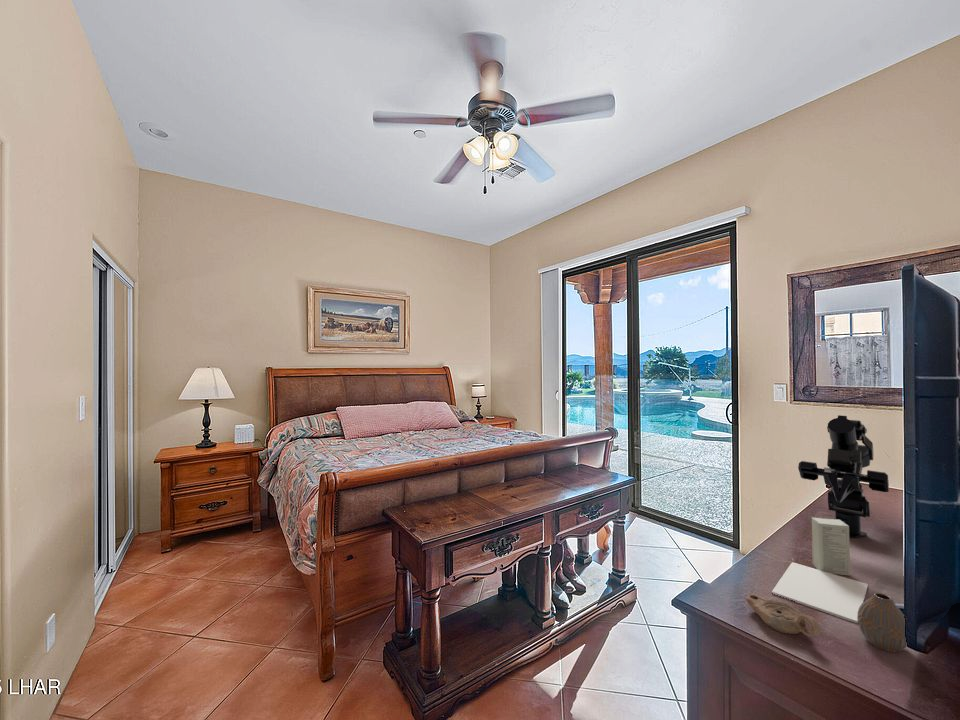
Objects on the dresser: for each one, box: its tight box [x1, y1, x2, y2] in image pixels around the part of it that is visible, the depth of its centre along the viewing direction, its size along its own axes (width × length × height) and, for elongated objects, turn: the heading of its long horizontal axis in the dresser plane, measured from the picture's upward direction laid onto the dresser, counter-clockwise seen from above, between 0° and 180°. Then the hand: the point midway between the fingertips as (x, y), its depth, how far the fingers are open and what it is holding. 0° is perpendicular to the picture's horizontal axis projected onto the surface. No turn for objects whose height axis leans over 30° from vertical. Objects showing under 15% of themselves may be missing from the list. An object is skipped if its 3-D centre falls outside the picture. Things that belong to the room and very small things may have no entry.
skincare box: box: [811, 516, 851, 577], centre depth 100 cm, size 6×4×12 cm
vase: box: [857, 592, 908, 653], centre depth 74 cm, size 7×7×9 cm
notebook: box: [771, 561, 869, 625], centre depth 91 cm, size 20×14×1 cm
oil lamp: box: [746, 594, 821, 638], centre depth 79 cm, size 13×8×5 cm, turn 14°
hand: (838, 501), depth 110 cm, fingers closed
